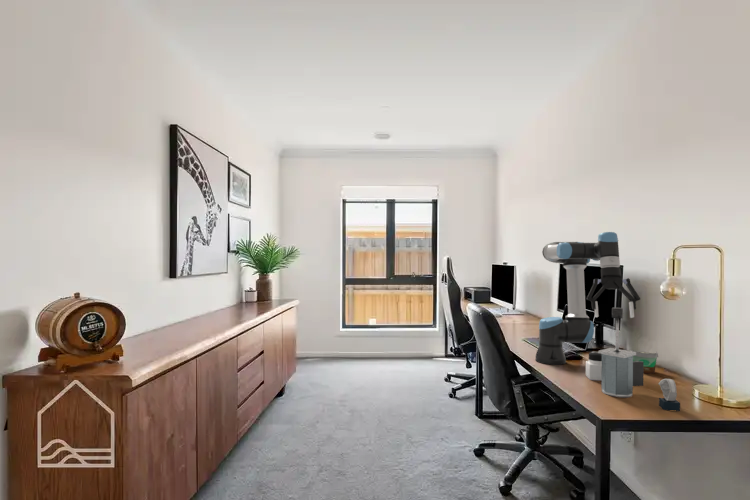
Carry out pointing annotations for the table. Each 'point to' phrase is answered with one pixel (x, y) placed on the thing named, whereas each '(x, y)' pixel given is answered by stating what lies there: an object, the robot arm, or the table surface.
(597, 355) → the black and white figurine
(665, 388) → the watch
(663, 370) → the table surface
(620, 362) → the press
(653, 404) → the table surface
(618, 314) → the plunger
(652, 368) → the food container
